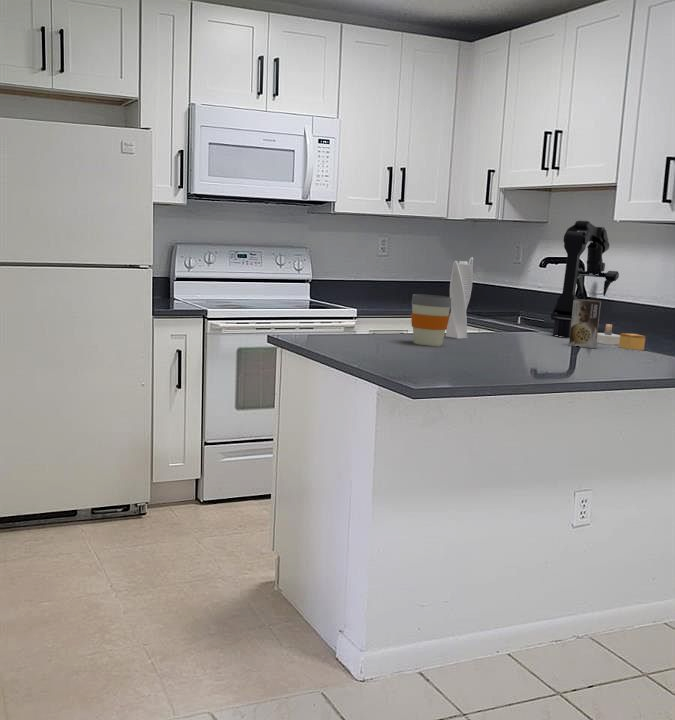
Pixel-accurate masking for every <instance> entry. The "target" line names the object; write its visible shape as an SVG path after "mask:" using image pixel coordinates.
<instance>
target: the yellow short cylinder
mask: <svg viewBox="0 0 675 720" xmlns="http://www.w3.org/2000/svg"><path fill="white" fill-rule="evenodd" d="M619 335H620V341H619V345H618V348H620V347H623V348H622V349H624V348H627V349H626V350H629V349H634V350H633V351H644V350H645V346H646V345H645V344H646V337H647V336H646V335H643V334H642V335H641V334H639V333H629V332H628V333H627V332H626V333H622V332H620V334H619Z"/></svg>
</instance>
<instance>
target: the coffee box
mask: <svg viewBox="0 0 675 720" xmlns="http://www.w3.org/2000/svg"><path fill="white" fill-rule="evenodd" d="M601 305H602V300H596V299H595V300H593V299H584V298H583V299H582V298H581V299H580V298H578V299H574V300H573V311H572V321H571V330H570V338H569V339H568V340H569V341H568V346H569V345H571V346H570V347H576V346H579V347H578V348H590V349H596V348H597V334H598V333H599V332H598V331H599V322H600V316H601V315H600V314H601Z"/></svg>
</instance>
